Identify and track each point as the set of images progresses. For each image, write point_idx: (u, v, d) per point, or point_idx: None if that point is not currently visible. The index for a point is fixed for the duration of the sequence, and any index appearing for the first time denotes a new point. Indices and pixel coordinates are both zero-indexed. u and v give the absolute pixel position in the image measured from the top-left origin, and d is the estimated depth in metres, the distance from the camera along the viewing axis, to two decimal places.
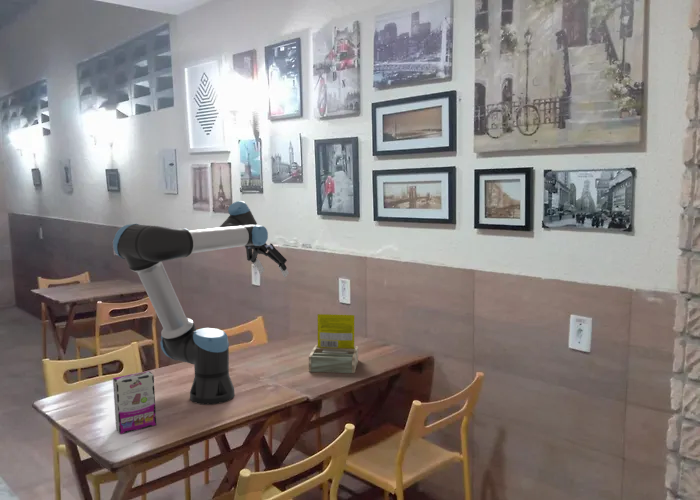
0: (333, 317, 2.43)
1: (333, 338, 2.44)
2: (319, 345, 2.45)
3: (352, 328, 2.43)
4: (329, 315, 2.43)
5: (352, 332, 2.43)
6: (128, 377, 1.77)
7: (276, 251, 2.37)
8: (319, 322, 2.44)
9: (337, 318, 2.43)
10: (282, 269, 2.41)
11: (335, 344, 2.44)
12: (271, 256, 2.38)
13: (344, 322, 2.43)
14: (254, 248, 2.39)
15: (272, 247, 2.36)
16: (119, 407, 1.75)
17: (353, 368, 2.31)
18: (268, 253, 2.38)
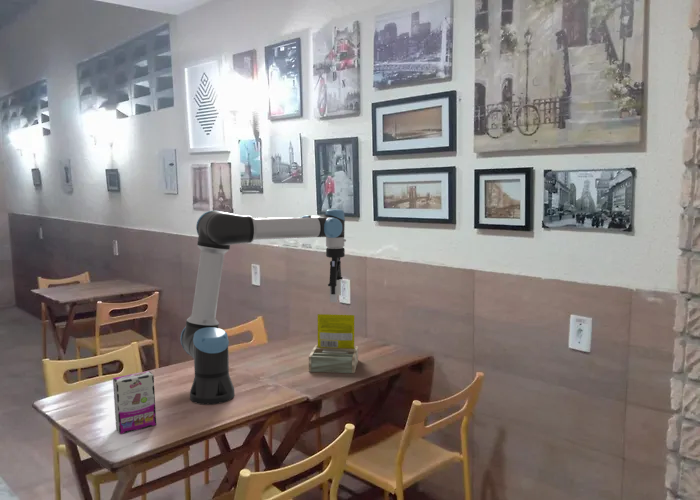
0: (333, 317, 2.43)
1: (333, 338, 2.44)
2: (319, 345, 2.45)
3: (352, 328, 2.43)
4: (329, 315, 2.43)
5: (352, 332, 2.43)
6: (128, 377, 1.77)
7: (334, 270, 2.33)
8: (319, 322, 2.44)
9: (337, 318, 2.43)
10: None
11: (335, 344, 2.44)
12: None
13: (344, 322, 2.43)
14: None
15: (334, 264, 2.34)
16: (119, 407, 1.75)
17: (353, 368, 2.31)
18: None
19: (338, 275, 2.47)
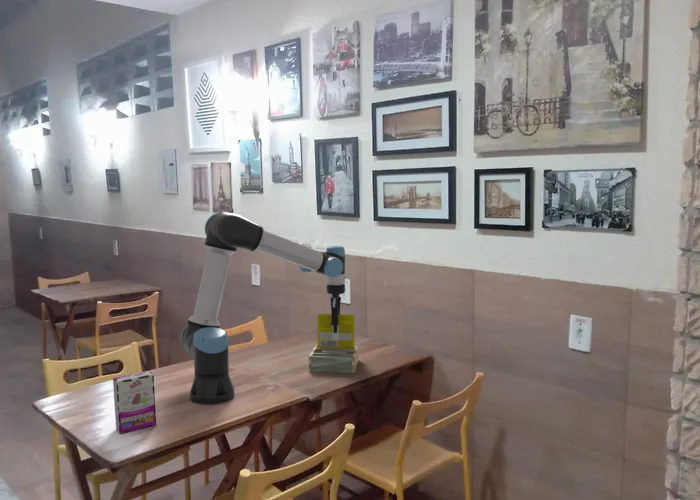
0: None
1: None
2: (319, 345, 2.46)
3: (352, 328, 2.43)
4: (329, 315, 2.44)
5: (352, 332, 2.43)
6: (128, 377, 1.77)
7: (335, 311, 2.38)
8: (319, 322, 2.44)
9: None
10: None
11: (335, 344, 2.44)
12: None
13: (344, 322, 2.43)
14: None
15: (334, 306, 2.37)
16: (119, 407, 1.75)
17: (353, 368, 2.31)
18: None
19: None
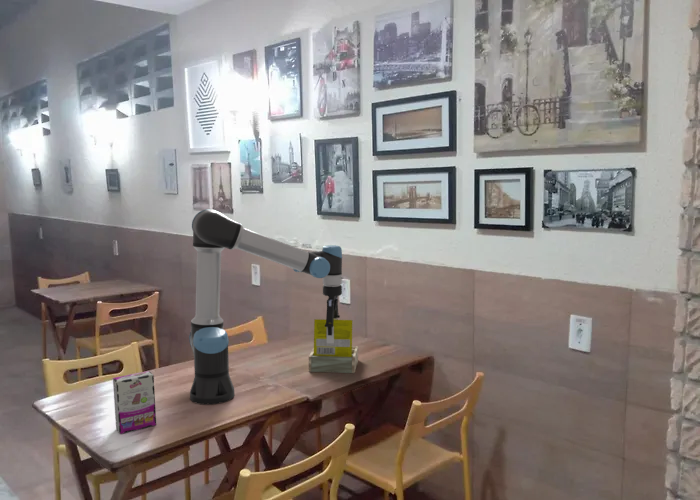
0: None
1: (330, 344, 2.35)
2: (315, 352, 2.35)
3: (350, 334, 2.35)
4: None
5: (350, 338, 2.35)
6: (128, 377, 1.77)
7: (331, 310, 2.24)
8: (316, 328, 2.36)
9: (334, 323, 2.36)
10: None
11: (332, 351, 2.34)
12: None
13: (342, 328, 2.35)
14: None
15: (330, 304, 2.24)
16: (119, 407, 1.75)
17: (353, 368, 2.31)
18: None
19: (335, 313, 2.37)
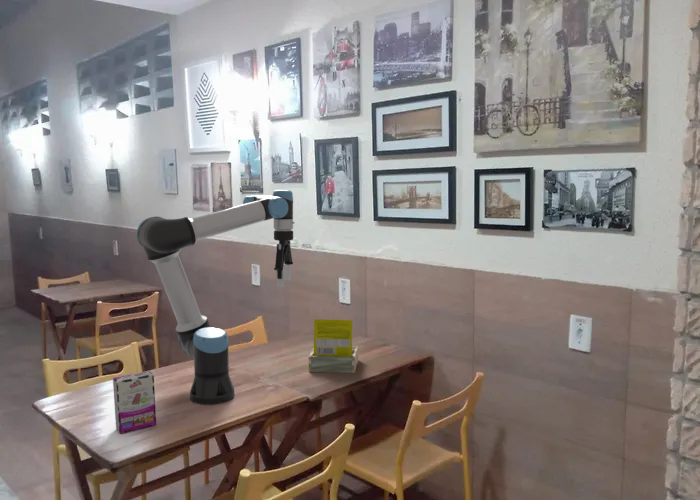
0: (330, 322, 2.36)
1: (330, 344, 2.35)
2: (315, 352, 2.35)
3: (350, 334, 2.35)
4: (326, 320, 2.36)
5: (350, 338, 2.35)
6: (128, 377, 1.77)
7: (280, 253, 2.22)
8: (316, 328, 2.36)
9: (334, 323, 2.36)
10: None
11: (332, 351, 2.34)
12: None
13: (342, 328, 2.35)
14: None
15: (280, 247, 2.23)
16: (119, 407, 1.75)
17: (353, 368, 2.31)
18: None
19: (288, 259, 2.36)
